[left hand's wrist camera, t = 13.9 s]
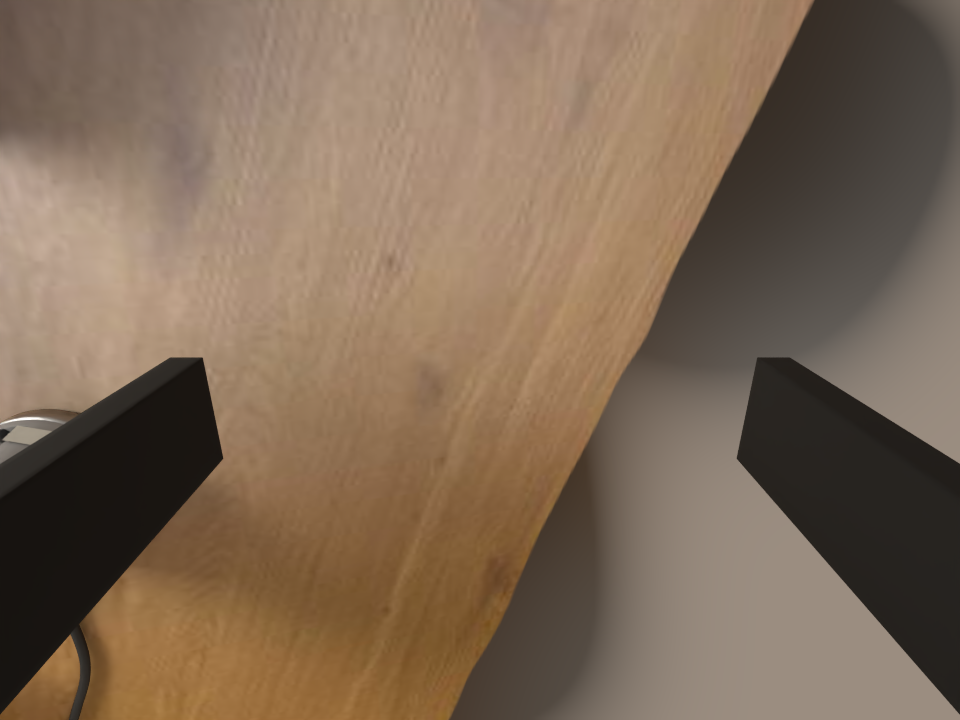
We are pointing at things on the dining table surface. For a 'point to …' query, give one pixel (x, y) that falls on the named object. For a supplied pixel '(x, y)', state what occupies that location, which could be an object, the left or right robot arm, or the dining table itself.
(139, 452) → the left robot arm
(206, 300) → the dining table surface
